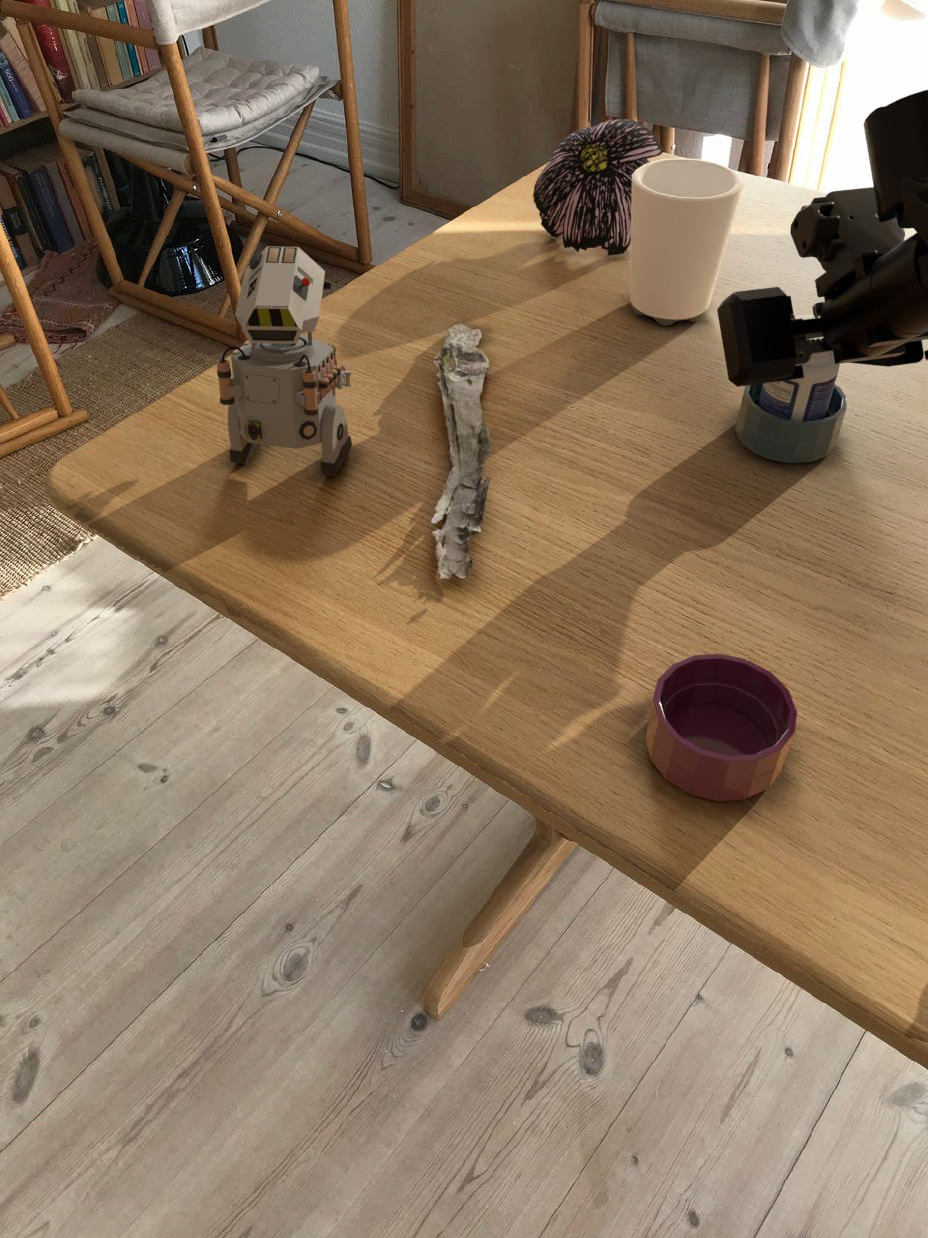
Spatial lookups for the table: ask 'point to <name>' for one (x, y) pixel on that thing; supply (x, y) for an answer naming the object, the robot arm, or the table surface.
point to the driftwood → (462, 448)
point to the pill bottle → (803, 389)
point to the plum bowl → (720, 726)
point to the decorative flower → (594, 184)
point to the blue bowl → (788, 430)
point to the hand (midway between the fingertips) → (794, 357)
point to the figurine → (283, 363)
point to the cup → (679, 235)
